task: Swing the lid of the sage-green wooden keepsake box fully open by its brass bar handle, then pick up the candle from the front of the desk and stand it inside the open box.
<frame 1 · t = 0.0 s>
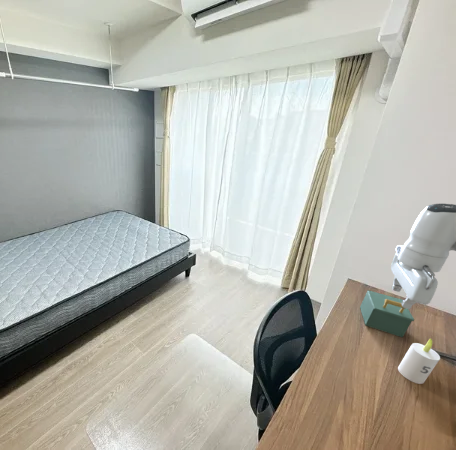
hand: (400, 298, 75), 26 cm above the table, tool pointing down, fingers open, 8 cm apart
keepsake box: (379, 321, 102), on the table
candle: (410, 375, 80), on the table
box lid: (390, 300, 98), point 11 cm above the table, hinge at 0.0°
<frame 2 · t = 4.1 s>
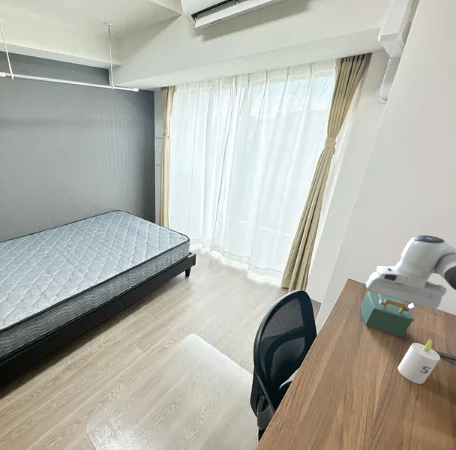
hand: (393, 307, 94), 11 cm above the table, tool pointing down, fingers closed on box lid, 6 cm apart
box lid: (390, 300, 98), point 11 cm above the table, hinge at 0.0°, touching gripper
everything else where it was.
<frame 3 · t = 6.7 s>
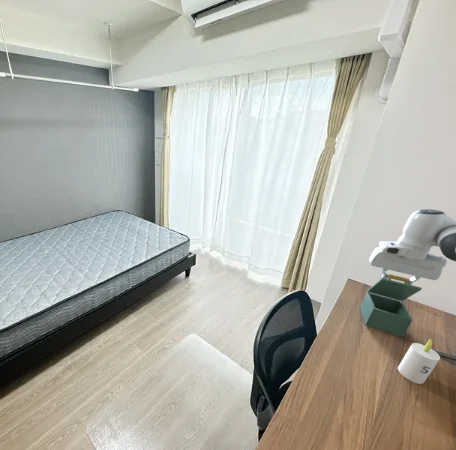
hand: (395, 280, 98), 19 cm above the table, tool pointing down, fingers closed on box lid, 6 cm apart
box lid: (392, 285, 99), point 16 cm above the table, hinge at 54.0°, touching gripper
everything else where it was.
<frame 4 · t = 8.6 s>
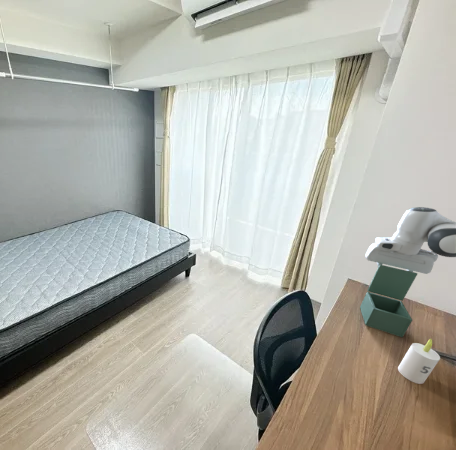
hand: (390, 274, 103), 18 cm above the table, tool pointing down, fingers closed on box lid, 6 cm apart
box lid: (389, 280, 102), point 16 cm above the table, hinge at 87.8°, touching gripper
everything else where it was.
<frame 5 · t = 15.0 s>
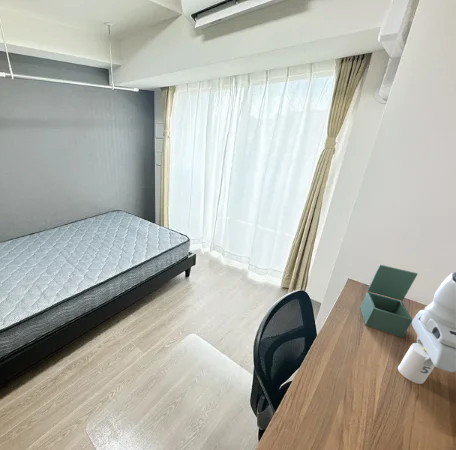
hand: (422, 357, 77), 8 cm above the table, tool pointing down, fingers closed on candle, 4 cm apart
candle: (410, 375, 80), on the table, touching gripper
box lid: (389, 280, 102), point 16 cm above the table, hinge at 87.3°
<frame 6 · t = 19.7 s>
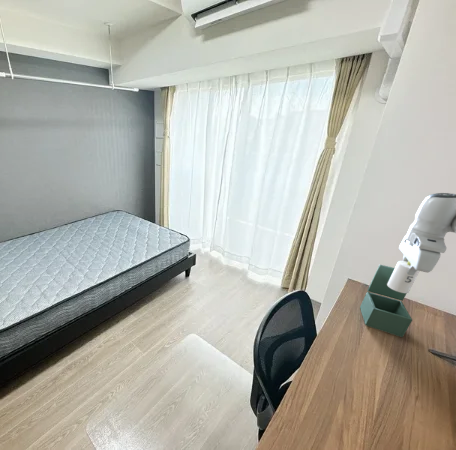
hand: (406, 270, 92), 25 cm above the table, tool pointing down, fingers closed on candle, 4 cm apart
candle: (397, 288, 95), point 17 cm above the table, touching gripper
everything else where it was.
when the fingers open (9 cm above the table, at t = 24.6 s): candle stays where it is, resting on keepsake box.
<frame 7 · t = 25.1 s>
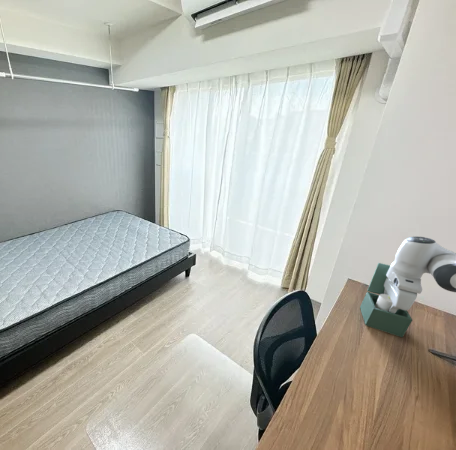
hand: (388, 304, 99), 9 cm above the table, tool pointing down, fingers open, 8 cm apart
candle: (379, 319, 102), point 1 cm above the table, touching keepsake box
box lid: (388, 279, 103), point 16 cm above the table, hinge at 95.3°, touching gripper
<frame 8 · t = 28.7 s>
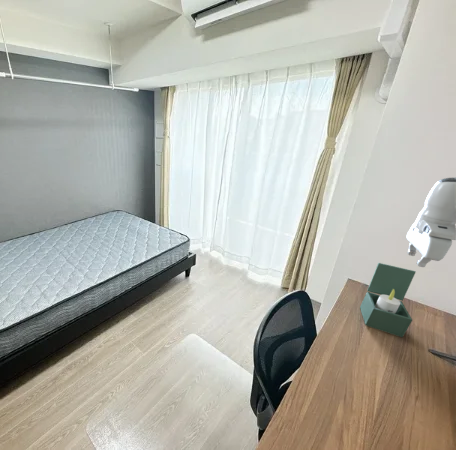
hand: (415, 260, 88), 31 cm above the table, tool pointing down, fingers open, 8 cm apart
box lid: (388, 279, 103), point 16 cm above the table, hinge at 95.7°
everything else where it was.
at the end: box lid at +96° (first picture: +0°); candle inside the target area in the keepsake box (0.1 cm from its centre), point 0.6 cm above the keepsake box's base; candle tilted 0° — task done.
